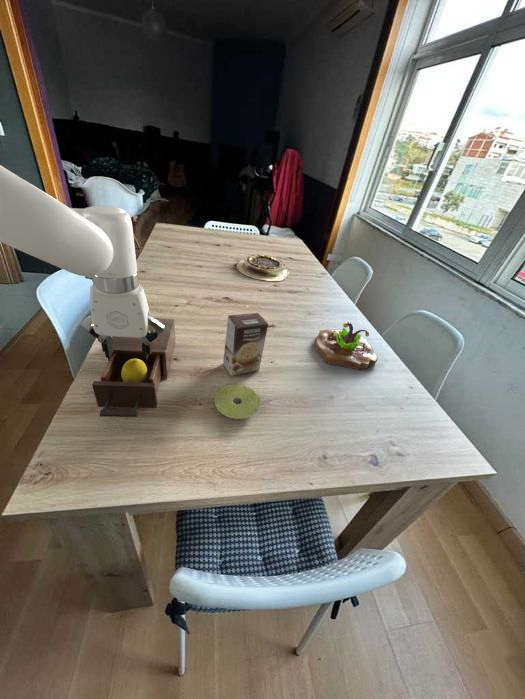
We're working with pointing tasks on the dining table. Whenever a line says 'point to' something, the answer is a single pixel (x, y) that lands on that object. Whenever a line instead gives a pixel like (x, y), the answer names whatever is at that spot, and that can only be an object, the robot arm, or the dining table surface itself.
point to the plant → (345, 348)
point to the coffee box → (244, 343)
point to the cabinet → (159, 346)
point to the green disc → (237, 401)
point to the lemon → (134, 371)
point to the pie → (263, 267)
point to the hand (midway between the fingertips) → (128, 354)
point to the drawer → (127, 386)
